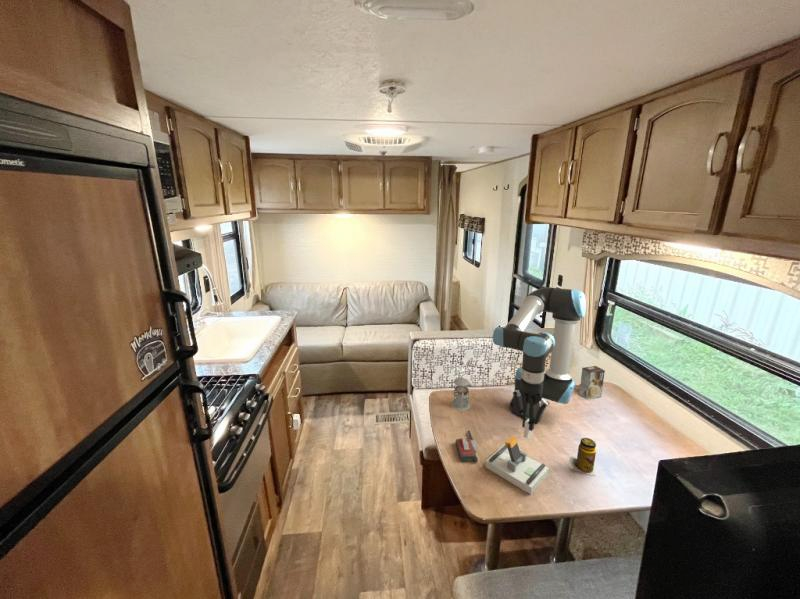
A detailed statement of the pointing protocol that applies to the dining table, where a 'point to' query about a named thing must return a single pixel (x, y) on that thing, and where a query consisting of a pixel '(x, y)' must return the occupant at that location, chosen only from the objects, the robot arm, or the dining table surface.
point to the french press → (461, 400)
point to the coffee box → (591, 382)
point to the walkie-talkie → (467, 449)
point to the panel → (517, 469)
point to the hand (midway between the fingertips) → (527, 435)
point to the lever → (514, 450)
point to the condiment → (585, 457)
